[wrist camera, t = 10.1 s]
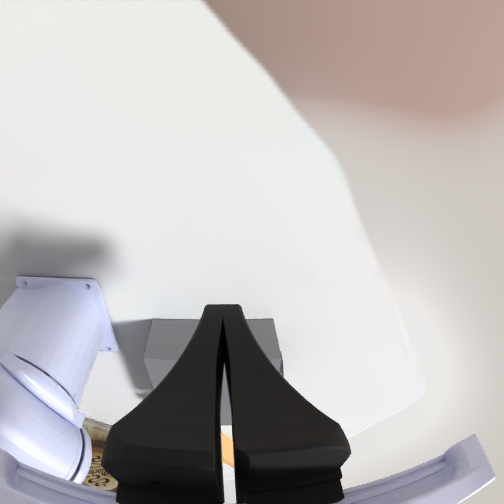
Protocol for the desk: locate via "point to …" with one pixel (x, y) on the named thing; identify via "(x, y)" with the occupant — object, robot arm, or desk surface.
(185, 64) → the desk surface
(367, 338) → the desk surface
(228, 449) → the side door
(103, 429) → the coffee box
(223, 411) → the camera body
